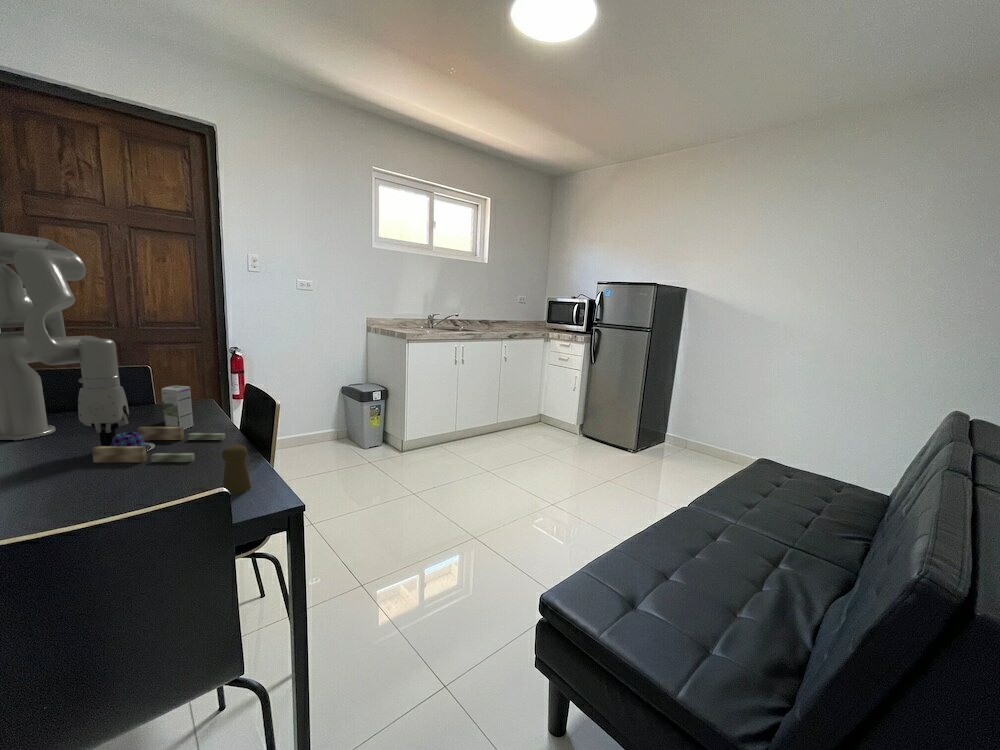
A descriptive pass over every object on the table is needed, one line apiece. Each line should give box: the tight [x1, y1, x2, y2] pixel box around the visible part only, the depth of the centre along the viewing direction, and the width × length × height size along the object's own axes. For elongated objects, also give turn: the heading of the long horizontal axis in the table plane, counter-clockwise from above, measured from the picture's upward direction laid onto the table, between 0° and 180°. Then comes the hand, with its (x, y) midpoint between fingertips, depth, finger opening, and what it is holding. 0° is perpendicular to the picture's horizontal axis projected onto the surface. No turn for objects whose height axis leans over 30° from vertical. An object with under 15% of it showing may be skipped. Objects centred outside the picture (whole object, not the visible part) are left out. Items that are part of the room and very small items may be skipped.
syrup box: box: [160, 385, 194, 431], centre depth 140 cm, size 6×6×14 cm
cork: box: [221, 444, 252, 496], centre depth 101 cm, size 6×6×11 cm
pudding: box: [110, 431, 156, 452], centre depth 121 cm, size 12×12×5 cm
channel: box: [91, 426, 226, 463], centre depth 123 cm, size 24×19×4 cm
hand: (108, 444), depth 120 cm, fingers closed
